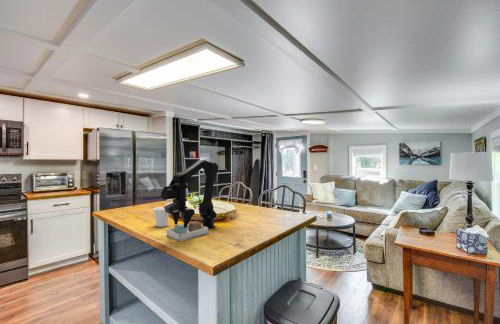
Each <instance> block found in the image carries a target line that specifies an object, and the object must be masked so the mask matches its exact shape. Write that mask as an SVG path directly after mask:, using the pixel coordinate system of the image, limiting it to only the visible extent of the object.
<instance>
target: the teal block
mask: <svg viewBox="0 0 500 324" xmlns="http://www.w3.org/2000/svg"><path fill="white" fill-rule="evenodd" d="M173 228H174V232H176V233H178V234H183V233H187V227H186V228H184V223H181V224H177V225H175V224H174V225H173Z"/></svg>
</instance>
